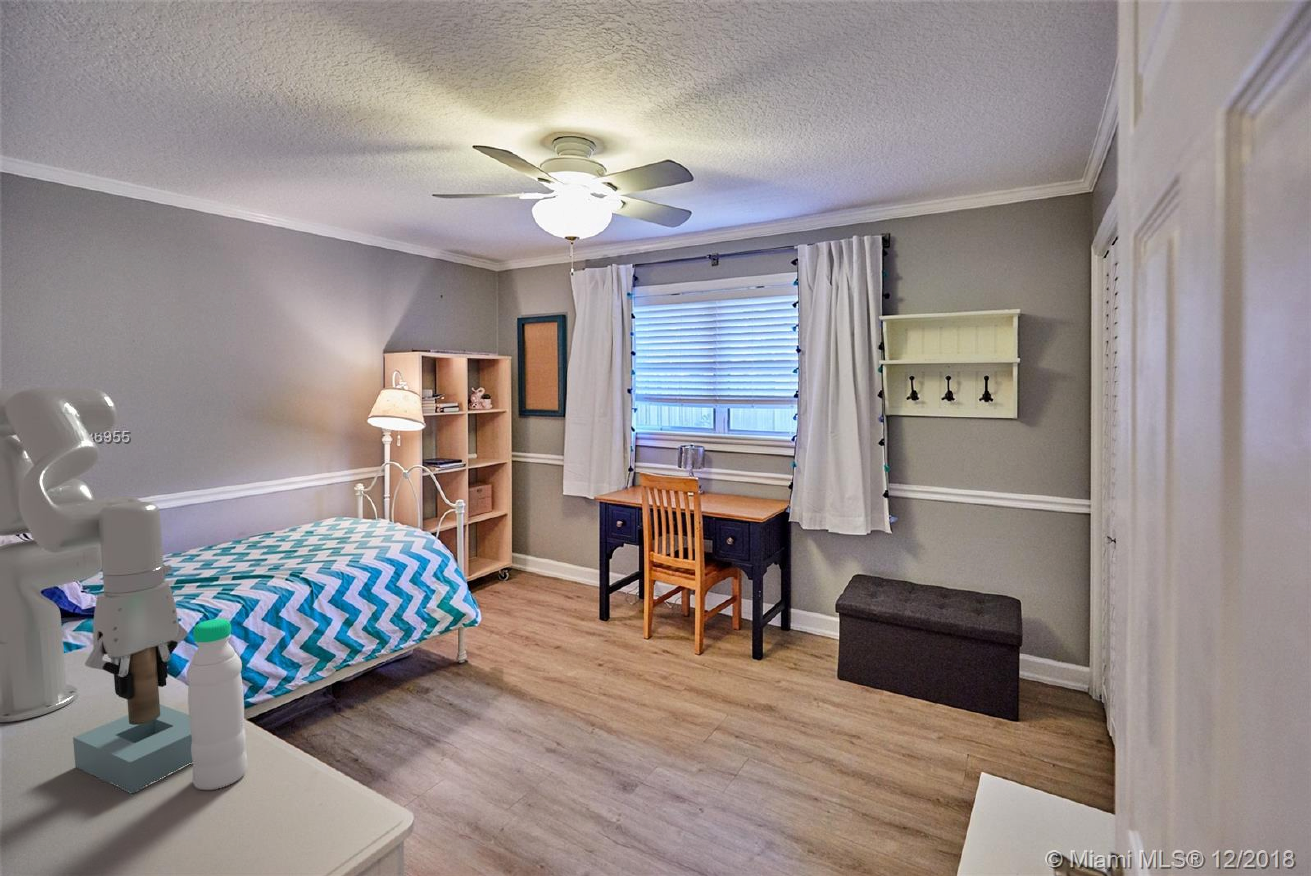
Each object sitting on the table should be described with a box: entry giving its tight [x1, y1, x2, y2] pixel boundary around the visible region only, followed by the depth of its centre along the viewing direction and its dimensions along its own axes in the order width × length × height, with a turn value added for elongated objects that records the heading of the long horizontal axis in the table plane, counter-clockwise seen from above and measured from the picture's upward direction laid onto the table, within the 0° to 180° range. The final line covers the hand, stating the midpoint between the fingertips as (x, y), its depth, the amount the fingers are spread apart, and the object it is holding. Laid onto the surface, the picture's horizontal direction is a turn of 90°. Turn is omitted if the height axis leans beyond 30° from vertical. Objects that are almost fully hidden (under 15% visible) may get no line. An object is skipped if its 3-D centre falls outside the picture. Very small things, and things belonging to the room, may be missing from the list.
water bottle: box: [186, 618, 248, 791], centre depth 99 cm, size 7×7×25 cm
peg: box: [126, 647, 161, 725], centre depth 104 cm, size 4×4×14 cm
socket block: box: [72, 704, 193, 794], centre depth 105 cm, size 16×12×5 cm
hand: (142, 689), depth 104 cm, fingers closed on peg, 4 cm apart
